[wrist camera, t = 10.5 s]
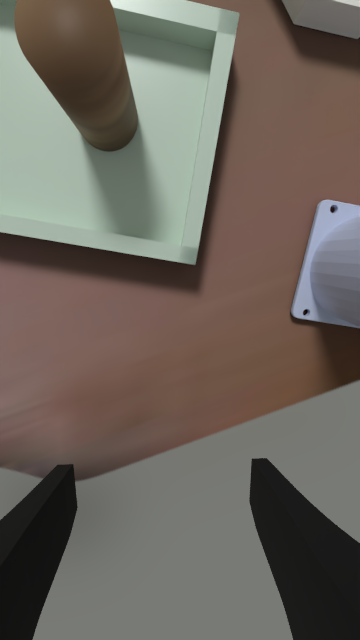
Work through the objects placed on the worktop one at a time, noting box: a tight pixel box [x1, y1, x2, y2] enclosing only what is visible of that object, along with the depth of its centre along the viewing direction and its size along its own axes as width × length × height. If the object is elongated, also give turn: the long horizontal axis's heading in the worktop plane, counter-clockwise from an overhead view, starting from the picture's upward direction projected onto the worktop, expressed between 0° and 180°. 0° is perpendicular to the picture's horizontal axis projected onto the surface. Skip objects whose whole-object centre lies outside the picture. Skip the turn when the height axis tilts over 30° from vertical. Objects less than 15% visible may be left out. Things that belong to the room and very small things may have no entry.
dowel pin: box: [14, 0, 138, 152], centre depth 14 cm, size 4×4×7 cm
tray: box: [0, 0, 239, 265], centre depth 17 cm, size 15×13×2 cm
